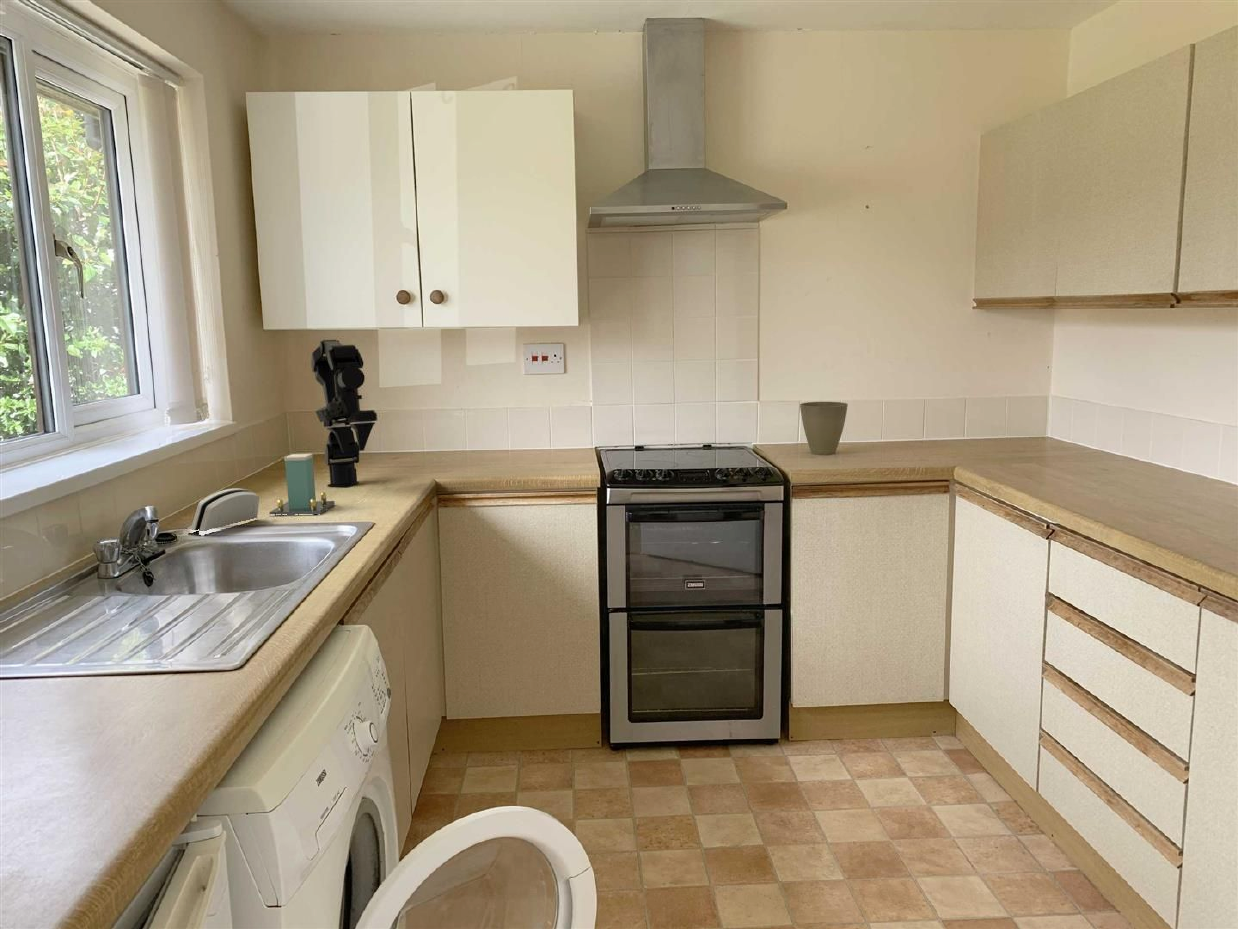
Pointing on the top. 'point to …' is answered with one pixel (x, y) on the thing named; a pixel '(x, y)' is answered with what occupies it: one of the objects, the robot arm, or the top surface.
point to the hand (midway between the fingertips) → (353, 451)
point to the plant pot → (823, 425)
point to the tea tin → (300, 480)
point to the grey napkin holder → (225, 509)
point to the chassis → (316, 508)
